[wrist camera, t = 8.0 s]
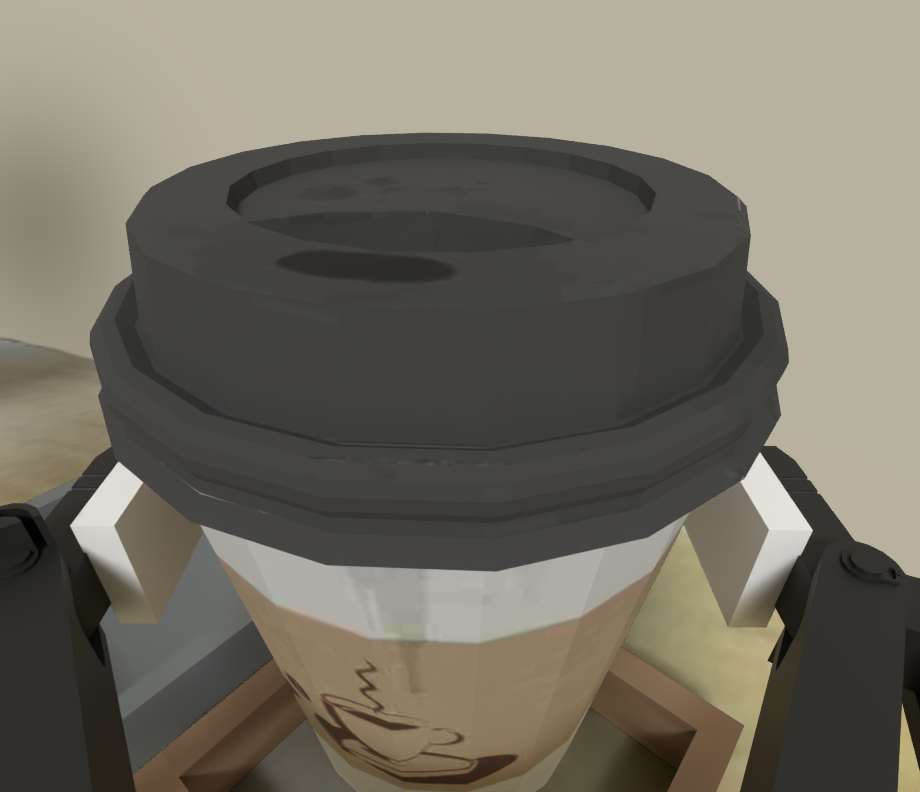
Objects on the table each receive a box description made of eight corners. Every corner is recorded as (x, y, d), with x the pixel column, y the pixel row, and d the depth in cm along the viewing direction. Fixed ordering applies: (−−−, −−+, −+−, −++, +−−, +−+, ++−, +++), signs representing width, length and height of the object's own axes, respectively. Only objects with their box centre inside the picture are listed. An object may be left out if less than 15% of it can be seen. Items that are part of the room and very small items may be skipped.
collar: (151, 822, 21) (124, 781, 19) (433, 568, 30) (431, 526, 28) (479, 1335, 13) (482, 1341, 11) (723, 767, 22) (744, 725, 20)
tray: (-35, 586, 29) (-64, 544, 27) (234, 445, 39) (224, 407, 37) (93, 806, 21) (62, 765, 19) (392, 558, 31) (388, 516, 29)
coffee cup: (163, 878, 14) (-263, 289, 6) (338, 530, 23) (275, 116, 15) (657, 1014, 12) (1105, 437, 4) (632, 577, 21) (745, 135, 13)
